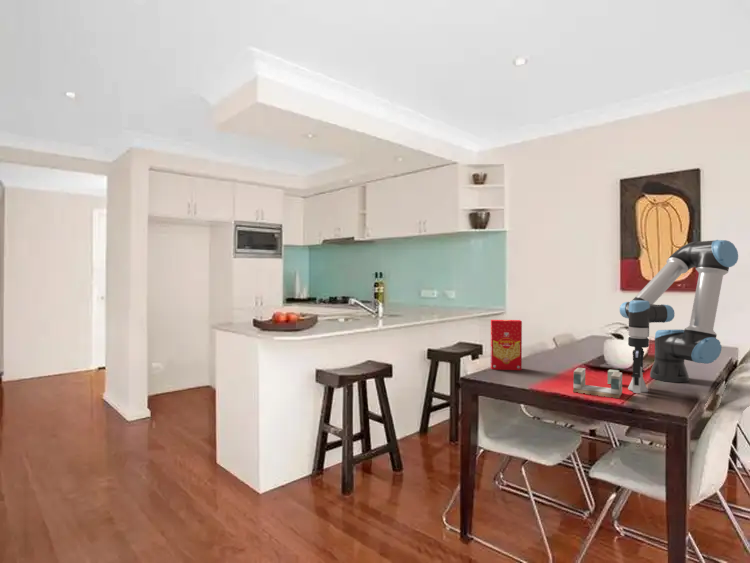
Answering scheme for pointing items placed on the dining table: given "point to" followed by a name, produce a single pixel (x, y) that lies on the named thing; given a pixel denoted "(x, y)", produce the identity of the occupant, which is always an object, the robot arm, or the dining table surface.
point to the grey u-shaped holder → (595, 390)
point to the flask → (643, 385)
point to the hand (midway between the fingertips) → (637, 390)
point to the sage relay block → (610, 375)
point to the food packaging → (506, 344)
